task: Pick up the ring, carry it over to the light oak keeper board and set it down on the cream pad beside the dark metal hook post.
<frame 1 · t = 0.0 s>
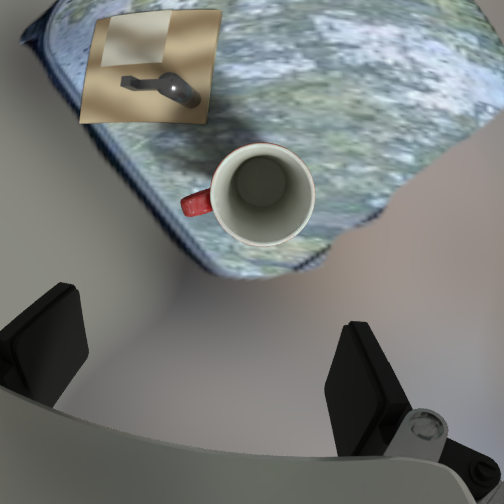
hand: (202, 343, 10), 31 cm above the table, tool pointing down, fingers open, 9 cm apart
keeper hook: (193, 101, 36), resting on keeper board
keeper board: (148, 66, 34), on the table
mug: (248, 182, 39), on the table
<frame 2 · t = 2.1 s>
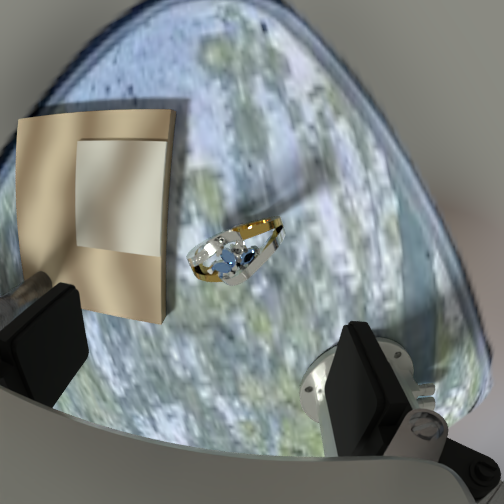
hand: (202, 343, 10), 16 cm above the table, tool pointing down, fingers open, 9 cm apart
ring: (239, 228, 25), on the table
keeper hook: (51, 276, 27), resting on keeper board
keeper board: (85, 213, 25), on the table
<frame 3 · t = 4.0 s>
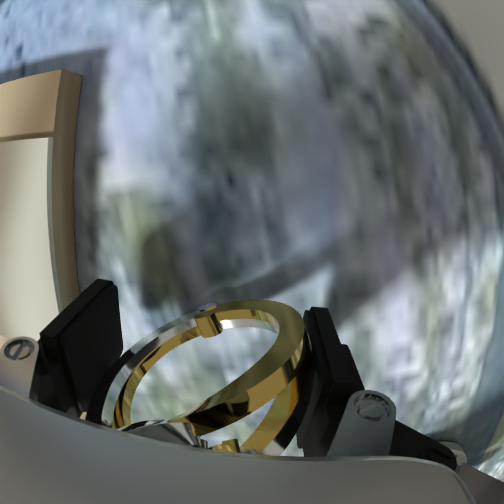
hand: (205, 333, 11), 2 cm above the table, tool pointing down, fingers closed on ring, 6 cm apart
ring: (211, 310, 12), on the table, touching gripper
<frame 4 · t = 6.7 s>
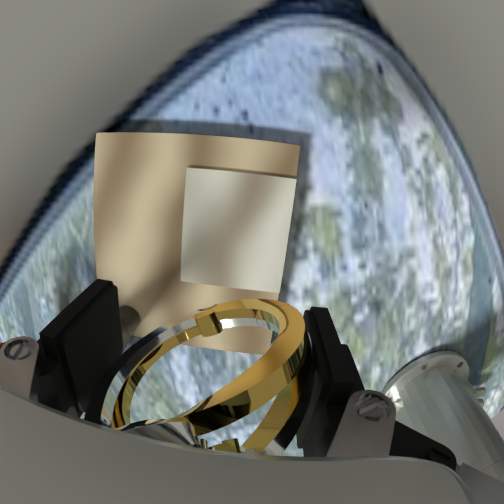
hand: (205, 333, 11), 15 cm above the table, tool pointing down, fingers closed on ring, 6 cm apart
ring: (211, 309, 12), point 14 cm above the table, touching gripper
keeper hook: (134, 309, 28), resting on keeper board
keeper board: (186, 244, 26), on the table
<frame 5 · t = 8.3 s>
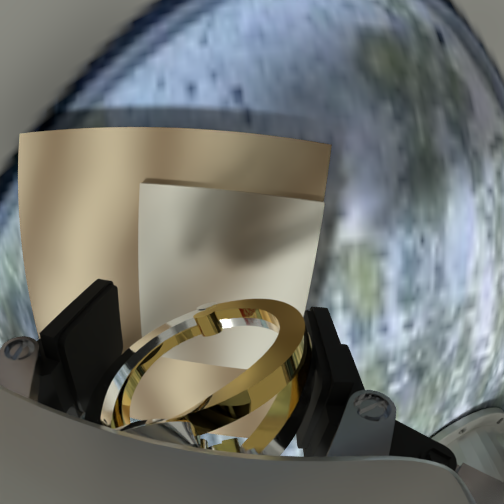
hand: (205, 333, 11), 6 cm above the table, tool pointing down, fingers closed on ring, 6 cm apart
ring: (211, 309, 12), point 4 cm above the table, touching gripper
keeper board: (151, 298, 17), on the table
when the fingers open (5 cm above the table, at t = 9.5 s): ring drops 1 cm, resting on keeper board.
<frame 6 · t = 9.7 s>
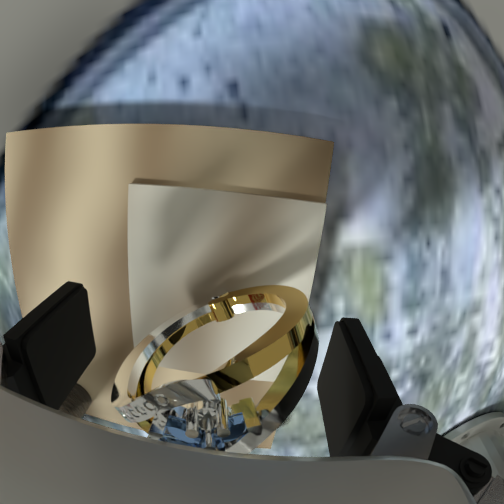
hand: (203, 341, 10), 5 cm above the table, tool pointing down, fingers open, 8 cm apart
ring: (224, 298, 14), point 2 cm above the table, touching keeper board
keeper hook: (85, 380, 18), resting on keeper board
keeper board: (143, 304, 16), on the table
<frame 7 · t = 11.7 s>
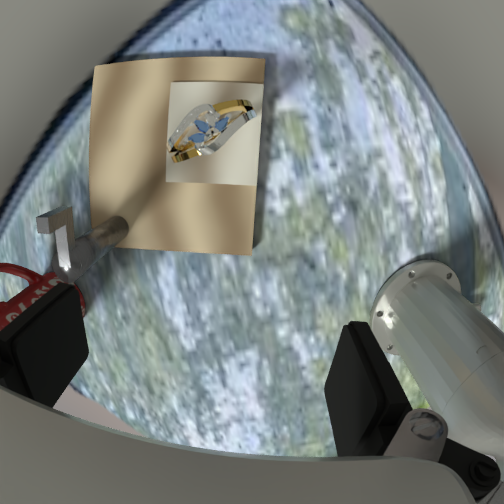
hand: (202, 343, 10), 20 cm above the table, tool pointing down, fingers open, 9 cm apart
ring: (217, 133, 25), point 2 cm above the table, touching keeper board
keeper hook: (123, 223, 29), resting on keeper board
keeper board: (171, 153, 27), on the table
mug: (57, 285, 32), on the table
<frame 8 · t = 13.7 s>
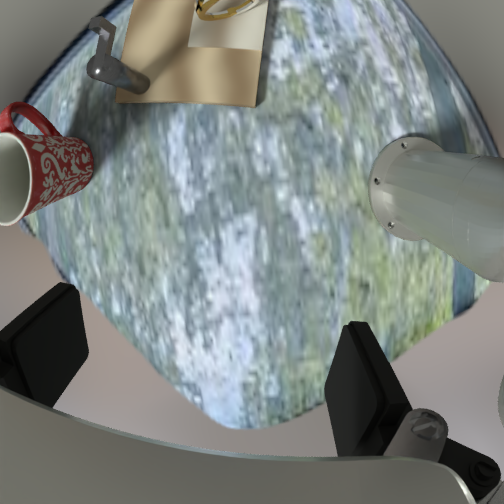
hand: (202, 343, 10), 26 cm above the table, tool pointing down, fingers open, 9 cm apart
ring: (232, 14, 26), point 2 cm above the table, touching keeper board
keeper hook: (144, 86, 31), resting on keeper board
keeper board: (194, 32, 29), on the table
mug: (70, 152, 33), on the table
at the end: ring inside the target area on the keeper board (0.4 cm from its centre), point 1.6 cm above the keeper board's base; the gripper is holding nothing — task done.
